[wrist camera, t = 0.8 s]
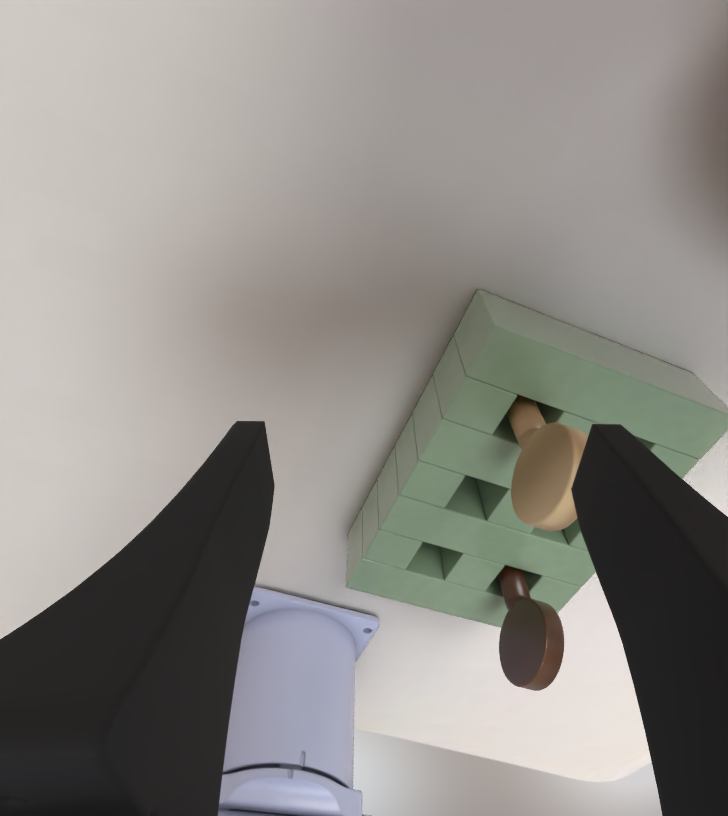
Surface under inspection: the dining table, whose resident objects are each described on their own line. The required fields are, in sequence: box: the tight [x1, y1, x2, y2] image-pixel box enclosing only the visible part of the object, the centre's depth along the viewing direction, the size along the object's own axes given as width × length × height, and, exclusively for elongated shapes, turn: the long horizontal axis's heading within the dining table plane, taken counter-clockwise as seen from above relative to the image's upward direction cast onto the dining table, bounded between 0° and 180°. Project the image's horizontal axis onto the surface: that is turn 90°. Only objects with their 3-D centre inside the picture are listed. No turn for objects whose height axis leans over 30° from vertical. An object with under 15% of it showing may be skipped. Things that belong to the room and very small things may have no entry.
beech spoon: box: [507, 394, 588, 531], centre depth 21 cm, size 1×4×8 cm, turn 159°
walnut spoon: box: [498, 565, 564, 691], centre depth 26 cm, size 1×4×8 cm, turn 158°
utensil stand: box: [346, 289, 728, 628], centre depth 25 cm, size 15×11×4 cm
